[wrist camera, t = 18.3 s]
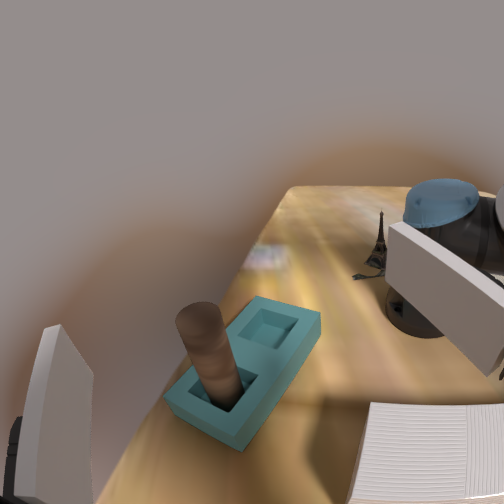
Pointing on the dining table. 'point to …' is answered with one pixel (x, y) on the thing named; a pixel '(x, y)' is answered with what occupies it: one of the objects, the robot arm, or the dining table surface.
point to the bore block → (251, 370)
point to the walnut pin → (211, 353)
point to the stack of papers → (430, 455)
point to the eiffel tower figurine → (377, 255)
